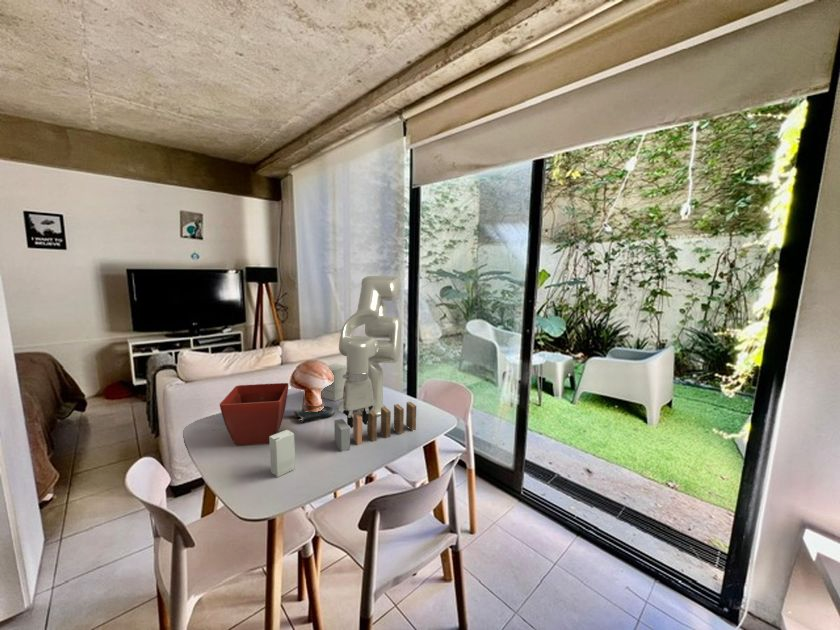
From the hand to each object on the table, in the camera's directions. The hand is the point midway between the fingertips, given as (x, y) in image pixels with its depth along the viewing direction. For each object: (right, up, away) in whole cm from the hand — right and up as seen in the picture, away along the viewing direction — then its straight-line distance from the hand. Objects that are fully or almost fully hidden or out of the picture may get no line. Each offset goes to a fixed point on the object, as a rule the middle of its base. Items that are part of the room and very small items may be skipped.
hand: (357, 424), depth 124 cm
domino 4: (+19, -5, +12) cm, 23 cm away
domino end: (0, -6, +1) cm, 7 cm away
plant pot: (-37, -5, +3) cm, 38 cm away
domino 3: (+14, -6, +9) cm, 18 cm away
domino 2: (+9, -6, +7) cm, 13 cm away
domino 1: (+5, -6, +4) cm, 9 cm away
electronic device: (-21, -4, +20) cm, 30 cm away
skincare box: (-20, -9, -18) cm, 28 cm away
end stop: (-5, -7, -2) cm, 9 cm away
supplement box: (-18, 0, +42) cm, 46 cm away
